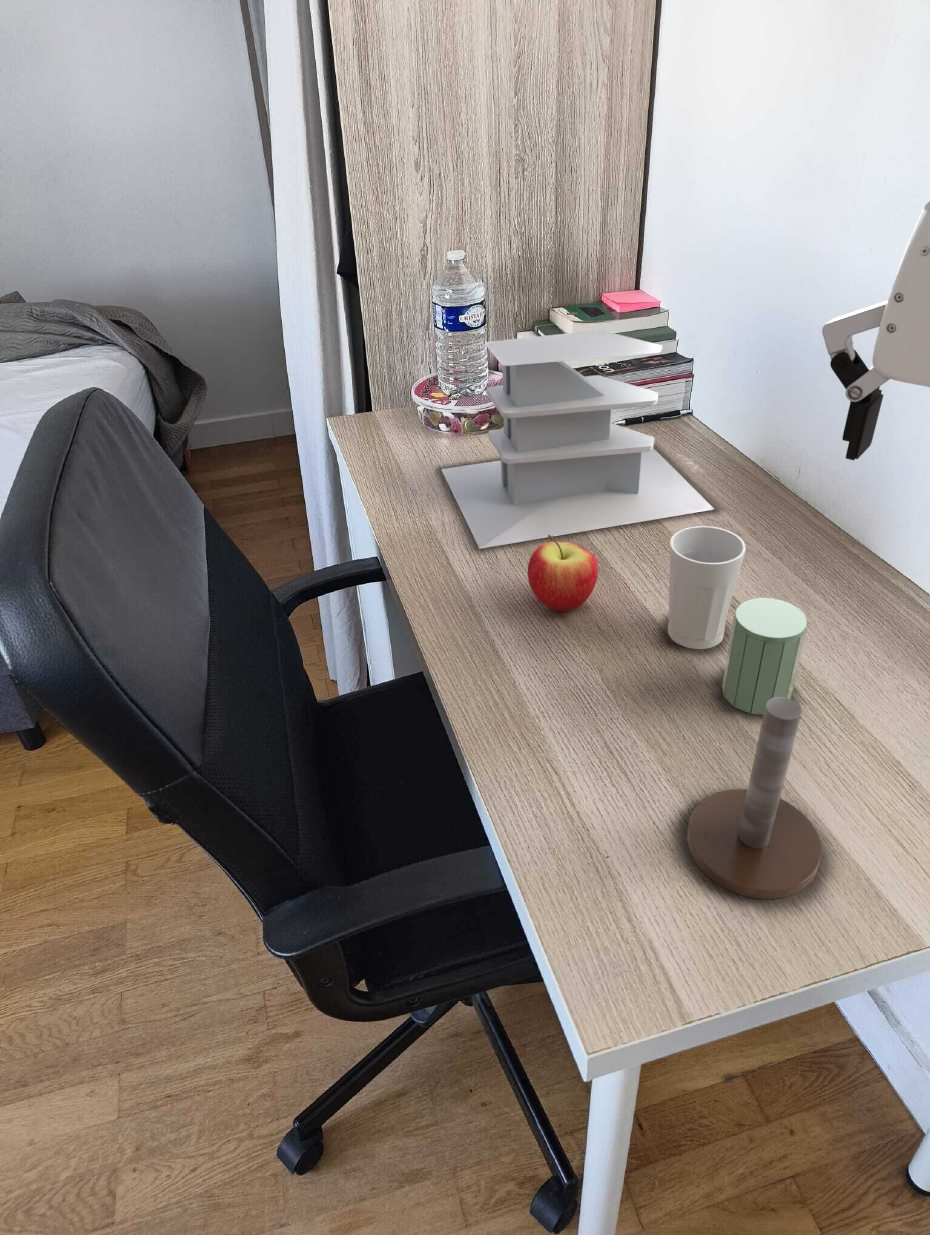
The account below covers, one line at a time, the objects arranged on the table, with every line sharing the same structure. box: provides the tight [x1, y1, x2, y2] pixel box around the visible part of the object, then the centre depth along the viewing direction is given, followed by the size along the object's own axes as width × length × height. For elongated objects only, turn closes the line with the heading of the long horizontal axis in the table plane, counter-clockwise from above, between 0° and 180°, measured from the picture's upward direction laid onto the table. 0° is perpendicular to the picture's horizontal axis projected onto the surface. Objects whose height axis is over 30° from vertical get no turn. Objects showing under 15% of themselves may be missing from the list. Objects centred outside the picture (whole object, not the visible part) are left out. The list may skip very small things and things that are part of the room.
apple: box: [527, 535, 599, 612], centre depth 101 cm, size 8×8×10 cm
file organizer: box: [441, 329, 715, 550], centre depth 122 cm, size 26×35×22 cm
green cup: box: [721, 597, 808, 716], centre depth 86 cm, size 7×7×10 cm
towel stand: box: [686, 697, 822, 900], centre depth 69 cm, size 11×11×16 cm
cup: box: [667, 525, 747, 650], centre depth 95 cm, size 8×8×12 cm
